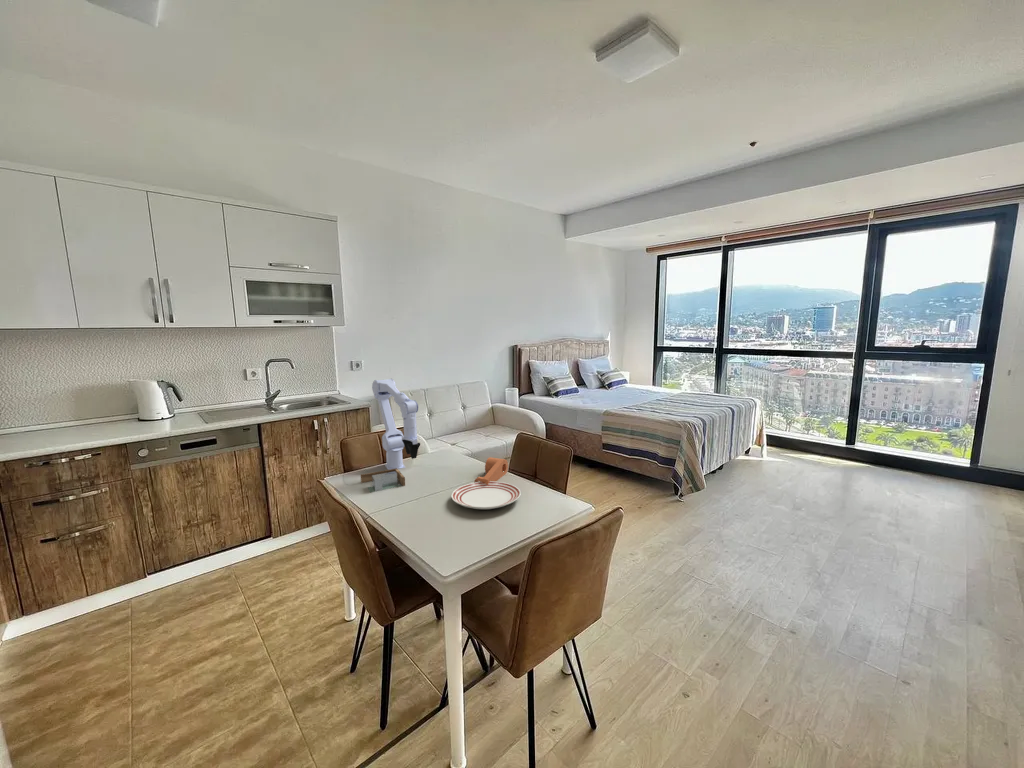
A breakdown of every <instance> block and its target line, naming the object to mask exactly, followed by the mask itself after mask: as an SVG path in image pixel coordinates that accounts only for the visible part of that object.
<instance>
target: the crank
mask: <svg viewBox="0 0 1024 768" xmlns="http://www.w3.org/2000/svg"><path fill="white" fill-rule="evenodd" d="M485 461H486V462H485V464H484V471H485V475H484V476H478V477H476V478H475V479H474V481H473V483H475V482H483V483H485V484H487V485H488V484H489V482H490V481H496V482H498V481H499V480H501V479H502V478H503V477H504V476H505V475H507V473H508V469H509V464H508V460H507V459H505V458H496V457H491V456H490V457H488V458H487V459H486V460H485ZM503 471H504V472H503Z"/></svg>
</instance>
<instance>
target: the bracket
mask: <svg viewBox="0 0 1024 768" xmlns="http://www.w3.org/2000/svg"><path fill="white" fill-rule="evenodd" d="M391 485H398V479H397V473H396V472H395V471H394V472H388V473H383V474H377V475H372V481H371V487H373V488H374V490H375V492H379V490H380V491H384V490H383V489H382V487H386V486H391Z"/></svg>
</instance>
